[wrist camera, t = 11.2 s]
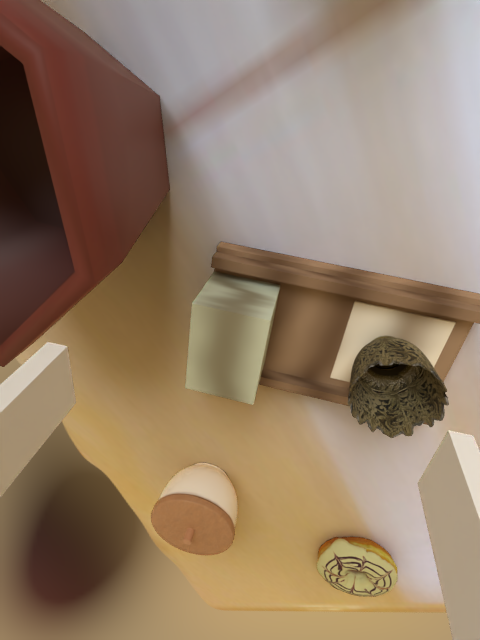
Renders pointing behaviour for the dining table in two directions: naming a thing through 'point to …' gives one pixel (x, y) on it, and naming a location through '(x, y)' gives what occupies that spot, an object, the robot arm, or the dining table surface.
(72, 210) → the bucket
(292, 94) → the dining table surface
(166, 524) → the lidded jar
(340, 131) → the dining table surface
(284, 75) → the dining table surface
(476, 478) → the robot arm
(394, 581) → the decorated donut
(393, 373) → the cup
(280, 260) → the brown wooden tray
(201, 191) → the dining table surface
